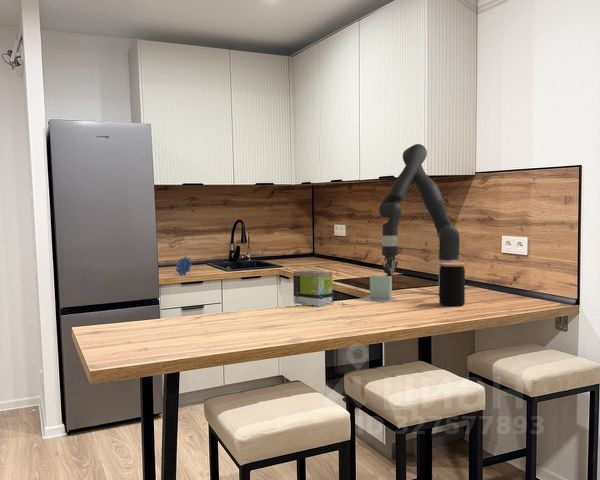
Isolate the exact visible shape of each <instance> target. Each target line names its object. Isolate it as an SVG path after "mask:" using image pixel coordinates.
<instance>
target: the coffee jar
mask: <svg viewBox="0 0 600 480" xmlns="http://www.w3.org/2000/svg"><path fill="white" fill-rule="evenodd" d="M440 266H441V268H440V270H439V269H438V295H439V301H438V302H439V304H440V305H441V306H444V307H452V308H453V307H454V308H456V307H463V306H464V305H465V302H466V301H465V300H466V299H465V298H466V297H465V296H466V294H465V293H466V287H465V286H466V283H465V282H466V280H465V279H466V272H465V271H466V269H465V266H466V264H465V263H464V262H458V263H456V262H444V263H440Z"/></svg>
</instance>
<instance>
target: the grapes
mask: <svg viewBox="0 0 600 480" xmlns="http://www.w3.org/2000/svg"><path fill="white" fill-rule="evenodd" d="M192 266H193V265H192V263H191V259H190V258H188V257H187V256H184V257H183V258H182V257H181V258H180V259H178V262H176V266H175V267H176V269H175V270H176V272H177V274H178V275H179V274H182V275H183V274H185V275H187V273H189V272H190V271H191V267H192Z"/></svg>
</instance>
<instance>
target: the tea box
mask: <svg viewBox="0 0 600 480" xmlns="http://www.w3.org/2000/svg"><path fill="white" fill-rule="evenodd" d="M292 275H293V276H292V277H293V281H292V282H293V283H292V284H293V304H296V305H304V306H309V305H308V304H311V305H314V306H313V307H318V306H319V307H324V306H323V305H325V306H328V305H327V304H331V303H332V304H333V271H329V270H328V271H326V270H315V269H312V270H310V269H304V270H296V271H293V274H292ZM329 302H330V303H329ZM332 304H331V305H332ZM311 305H310V306H311Z"/></svg>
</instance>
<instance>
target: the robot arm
mask: <svg viewBox="0 0 600 480" xmlns="http://www.w3.org/2000/svg"><path fill="white" fill-rule="evenodd" d="M427 156H428V152H427V149H426V147H425V146H424V145H423V144H420V143H417V144H413V145H411V146H410V147H408V148H406V149H405V150H403V153H402V160H403V162H404V164H405V166H404V168H403V170H402V171H401V172H400V173H399V175H398V176H397V177H396V179H395V181H394V183H393V185H392V187H391V189H390V191H389V193H388V194H387V195H386V196H385V198H384V199H383V200H382V202H381V203H380V205H379V209H378V212H379V215H380V216H381V217H382V218H388V221H387V222H385V223H383V224H382V237H381V238H382V239H381V255H382V256H384V262H382V263H381V266H382V269H383V272H384V273H385V274H386V276H392V283H393V281H394V280H393V279H394V277H393V276H394V273H396V270H397V267H398V264H399V263H398V261H396V256H398V255H399V237H398V234H399V233H398V231H399V228H398V226H399V222H400V219H401V217H402V207H401V205H400V202H402V201H403V200H404V198H405V196H406V194H407V191H408V190H409V188H410V185H411V183H412V181H414V183H415V186H416V189H417V190H418V193H419V195H420V198H421V200H422V202H423V204H424V207H425V209H426V210H427V213H428V214H429V216H430V218H431V219H432V221H433V223H434V227H435V230H436V232H437V237H438V240H439V241H438V243H439V245H438V246H439V251H438V271H439V270H440V268H441V266H440V263H444V262H456V263H460V262H459V255H460V231H458V229H457V228H456V227H454V226H453V223H452V222H451V220H450V218H449V216H448V213H447V210H446V205H445V202H444V199H443V196H442V192H441V191H440V188H439V187H438V185H437V183H436V182H435V181H434V180H433V179H431V177H430V176H428V175H427V173H426V171H425V170H424V167H423V165H422V164H423V163H424V161H425V160H426V158H427Z"/></svg>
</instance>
